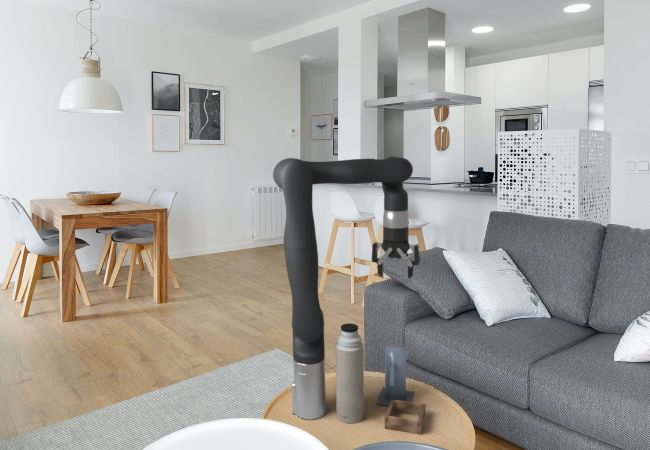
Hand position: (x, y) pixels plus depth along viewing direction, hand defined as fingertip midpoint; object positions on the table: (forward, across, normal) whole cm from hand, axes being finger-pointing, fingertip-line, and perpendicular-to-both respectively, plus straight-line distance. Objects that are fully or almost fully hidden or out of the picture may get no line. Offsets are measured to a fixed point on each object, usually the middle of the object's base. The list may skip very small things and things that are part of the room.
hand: (395, 276), depth 157 cm
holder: (+38, +6, -16) cm, 42 cm away
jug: (+38, +1, -5) cm, 38 cm away
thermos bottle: (+38, -10, -17) cm, 43 cm away
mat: (+38, +1, -4) cm, 38 cm away
